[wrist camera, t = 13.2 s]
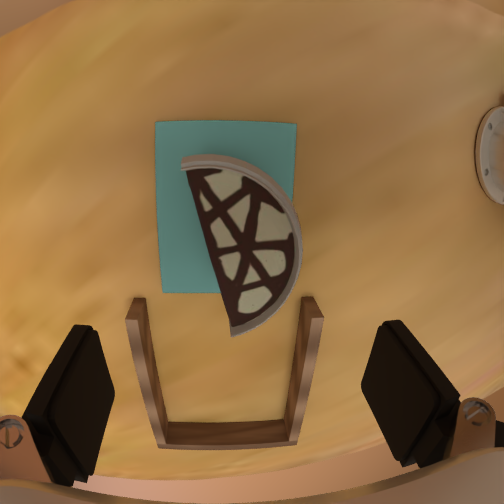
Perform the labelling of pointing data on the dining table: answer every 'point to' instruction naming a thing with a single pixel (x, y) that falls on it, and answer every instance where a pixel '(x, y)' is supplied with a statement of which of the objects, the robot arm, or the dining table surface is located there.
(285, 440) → the frame
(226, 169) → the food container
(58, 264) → the dining table surface
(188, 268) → the mat
